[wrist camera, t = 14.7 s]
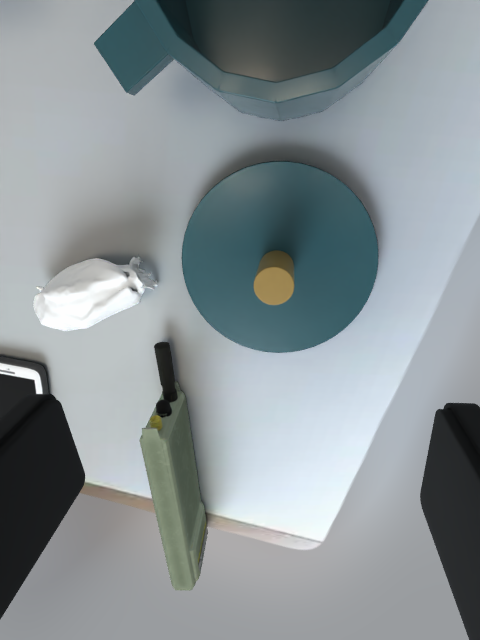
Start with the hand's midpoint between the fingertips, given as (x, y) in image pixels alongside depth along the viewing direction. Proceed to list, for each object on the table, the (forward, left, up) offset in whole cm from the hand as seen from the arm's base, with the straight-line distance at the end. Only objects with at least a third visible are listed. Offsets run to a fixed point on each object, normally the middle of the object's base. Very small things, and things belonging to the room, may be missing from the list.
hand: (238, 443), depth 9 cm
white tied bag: (+3, -15, -21) cm, 26 cm away
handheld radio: (+20, -10, -21) cm, 30 cm away
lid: (+1, 0, -20) cm, 20 cm away
